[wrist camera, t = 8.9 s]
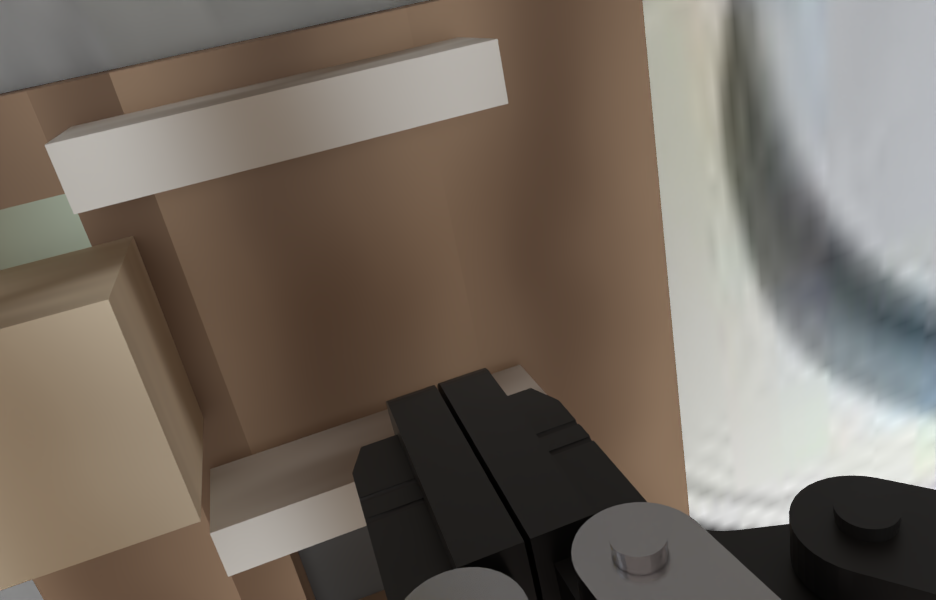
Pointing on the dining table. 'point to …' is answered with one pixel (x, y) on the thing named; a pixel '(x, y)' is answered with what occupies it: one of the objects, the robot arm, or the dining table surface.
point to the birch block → (90, 413)
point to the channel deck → (363, 258)
